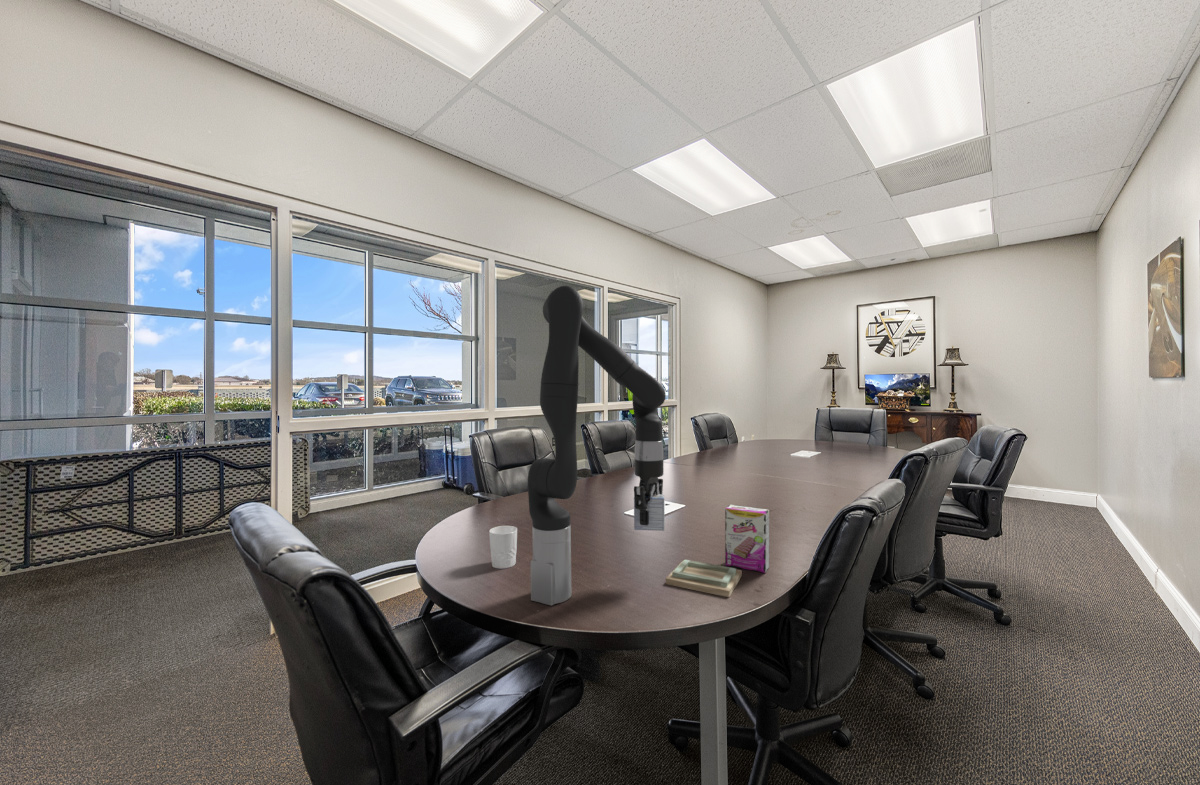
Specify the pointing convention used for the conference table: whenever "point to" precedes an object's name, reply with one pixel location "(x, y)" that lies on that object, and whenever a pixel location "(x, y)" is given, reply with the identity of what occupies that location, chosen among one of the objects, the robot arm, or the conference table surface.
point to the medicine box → (652, 515)
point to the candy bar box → (747, 538)
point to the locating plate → (705, 577)
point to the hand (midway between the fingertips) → (649, 521)
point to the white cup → (503, 546)
